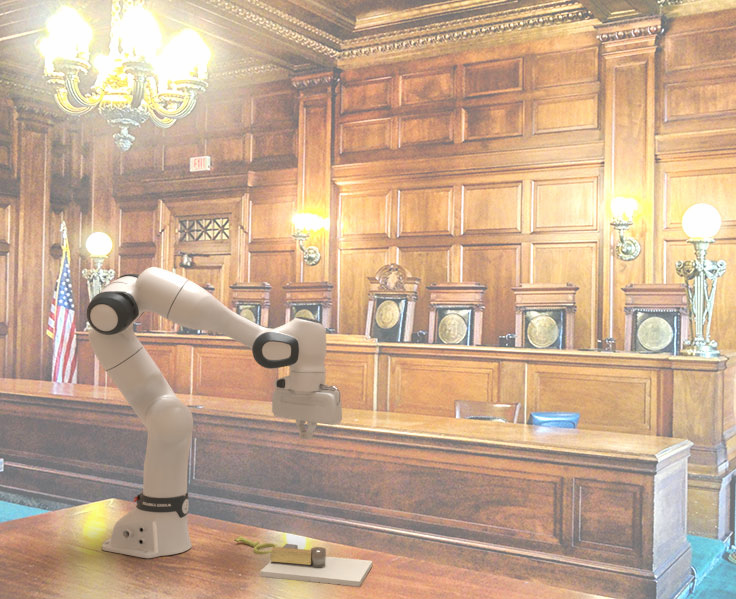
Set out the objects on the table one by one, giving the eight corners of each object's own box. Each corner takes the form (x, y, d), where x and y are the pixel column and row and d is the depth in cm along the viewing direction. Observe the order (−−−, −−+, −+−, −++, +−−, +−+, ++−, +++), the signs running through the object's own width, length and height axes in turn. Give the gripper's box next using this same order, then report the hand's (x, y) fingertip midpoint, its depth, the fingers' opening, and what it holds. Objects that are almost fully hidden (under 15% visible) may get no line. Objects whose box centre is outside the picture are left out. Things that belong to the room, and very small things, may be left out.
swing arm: (326, 562, 194) (327, 547, 194) (323, 567, 191) (324, 552, 191) (274, 558, 196) (274, 543, 196) (270, 563, 193) (270, 547, 193)
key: (238, 543, 214) (238, 535, 214) (280, 549, 210) (280, 541, 210) (225, 551, 207) (226, 542, 207) (269, 557, 203) (269, 549, 203)
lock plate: (260, 576, 188) (260, 557, 188) (279, 556, 202) (280, 539, 202) (359, 586, 183) (360, 567, 183) (372, 565, 198) (372, 548, 198)
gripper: (348, 385, 193) (346, 442, 193) (285, 378, 206) (284, 432, 205) (332, 387, 188) (330, 445, 188) (268, 380, 200) (267, 435, 200)
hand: (305, 438), depth 197 cm, fingers closed
